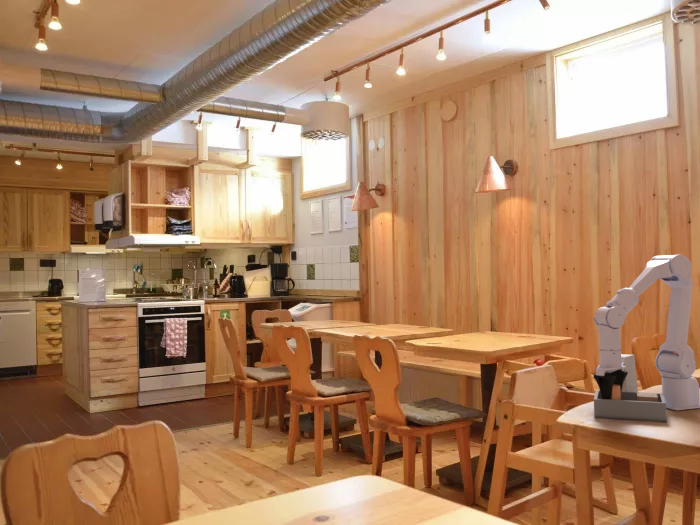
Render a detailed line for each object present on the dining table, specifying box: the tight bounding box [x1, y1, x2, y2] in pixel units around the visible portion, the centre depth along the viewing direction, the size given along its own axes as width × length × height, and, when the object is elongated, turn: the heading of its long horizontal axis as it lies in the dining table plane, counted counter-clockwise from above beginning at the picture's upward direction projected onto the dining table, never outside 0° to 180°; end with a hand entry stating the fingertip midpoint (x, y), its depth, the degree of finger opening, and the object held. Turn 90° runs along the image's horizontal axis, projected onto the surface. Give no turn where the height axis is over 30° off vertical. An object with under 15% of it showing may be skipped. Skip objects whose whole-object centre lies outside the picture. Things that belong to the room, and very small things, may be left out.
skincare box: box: [621, 353, 639, 392], centre depth 186 cm, size 8×6×15 cm
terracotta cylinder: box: [611, 384, 621, 400], centre depth 174 cm, size 5×5×7 cm
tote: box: [593, 389, 667, 423], centre depth 172 cm, size 18×14×5 cm
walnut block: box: [637, 392, 658, 402], centre depth 171 cm, size 5×5×5 cm
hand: (611, 398), depth 174 cm, fingers open, 6 cm apart
